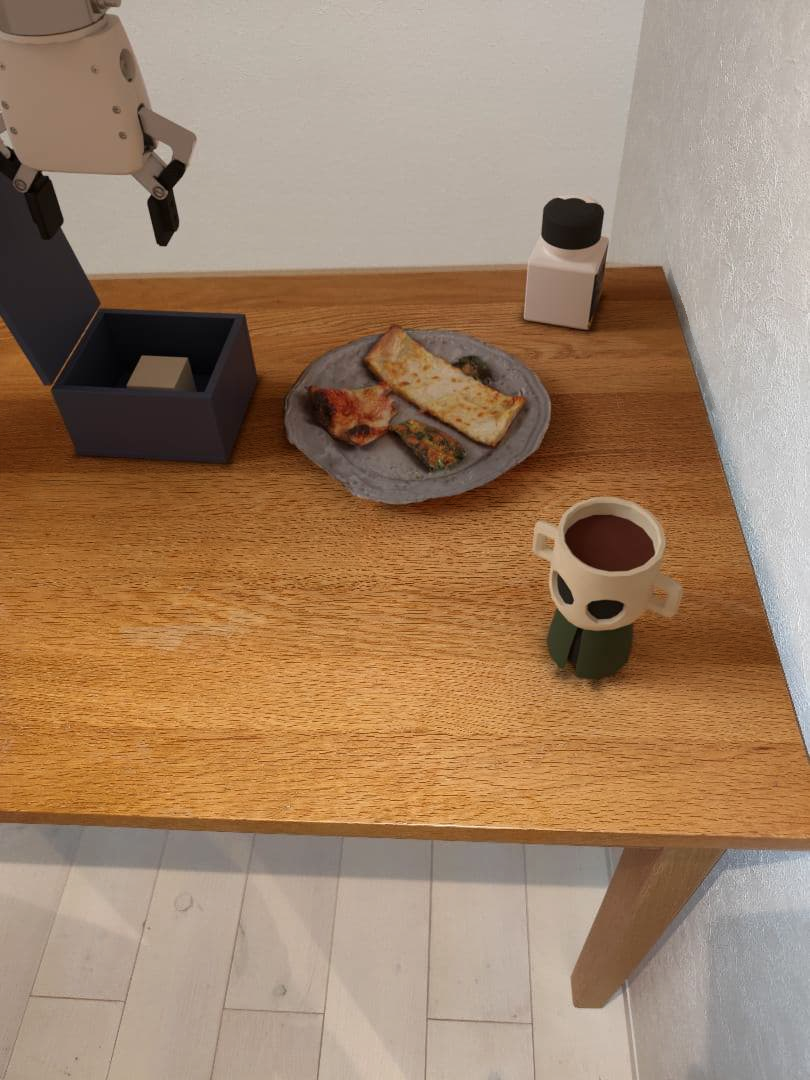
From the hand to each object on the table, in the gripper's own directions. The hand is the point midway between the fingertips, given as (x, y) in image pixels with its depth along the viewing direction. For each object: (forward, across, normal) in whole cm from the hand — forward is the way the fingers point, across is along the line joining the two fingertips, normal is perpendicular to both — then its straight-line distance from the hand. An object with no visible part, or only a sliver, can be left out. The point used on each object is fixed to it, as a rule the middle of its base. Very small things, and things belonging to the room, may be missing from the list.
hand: (110, 234), depth 73 cm
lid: (+4, +8, 0) cm, 9 cm away
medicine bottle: (+18, -39, -21) cm, 48 cm away
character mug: (+19, -41, +24) cm, 51 cm away
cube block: (+19, -1, 0) cm, 19 cm away
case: (+19, -1, 0) cm, 19 cm away
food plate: (+19, -25, -1) cm, 31 cm away
